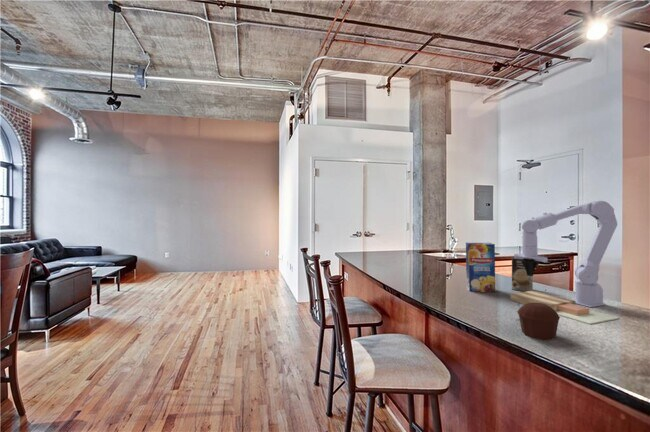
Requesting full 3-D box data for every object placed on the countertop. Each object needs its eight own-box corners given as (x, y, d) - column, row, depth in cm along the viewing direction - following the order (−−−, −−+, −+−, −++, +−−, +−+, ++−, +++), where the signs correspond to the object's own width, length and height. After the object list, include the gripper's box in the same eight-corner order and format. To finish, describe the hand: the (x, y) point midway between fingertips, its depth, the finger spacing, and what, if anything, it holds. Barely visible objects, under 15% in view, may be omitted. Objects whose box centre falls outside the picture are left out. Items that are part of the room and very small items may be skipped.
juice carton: (469, 291, 154) (468, 244, 154) (466, 287, 161) (465, 242, 161) (495, 292, 151) (494, 244, 151) (491, 288, 158) (490, 242, 158)
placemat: (579, 308, 124) (579, 307, 124) (619, 318, 112) (619, 317, 112) (552, 313, 119) (551, 312, 119) (589, 324, 107) (589, 323, 107)
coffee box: (511, 289, 156) (511, 258, 156) (511, 287, 161) (511, 256, 161) (533, 292, 151) (532, 259, 151) (532, 289, 156) (532, 257, 156)
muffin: (534, 326, 106) (534, 297, 106) (569, 338, 96) (568, 306, 96) (509, 331, 102) (508, 301, 102) (542, 344, 92) (541, 311, 92)
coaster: (569, 308, 124) (569, 303, 124) (589, 313, 117) (589, 308, 117) (557, 310, 121) (557, 305, 121) (576, 315, 115) (576, 310, 115)
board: (533, 296, 142) (533, 290, 142) (575, 308, 125) (575, 300, 125) (510, 300, 138) (510, 293, 138) (551, 312, 121) (551, 304, 121)
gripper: (509, 245, 146) (509, 273, 146) (539, 248, 132) (539, 279, 132) (520, 244, 148) (520, 272, 148) (550, 247, 134) (551, 278, 134)
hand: (530, 275), depth 140 cm, fingers closed
